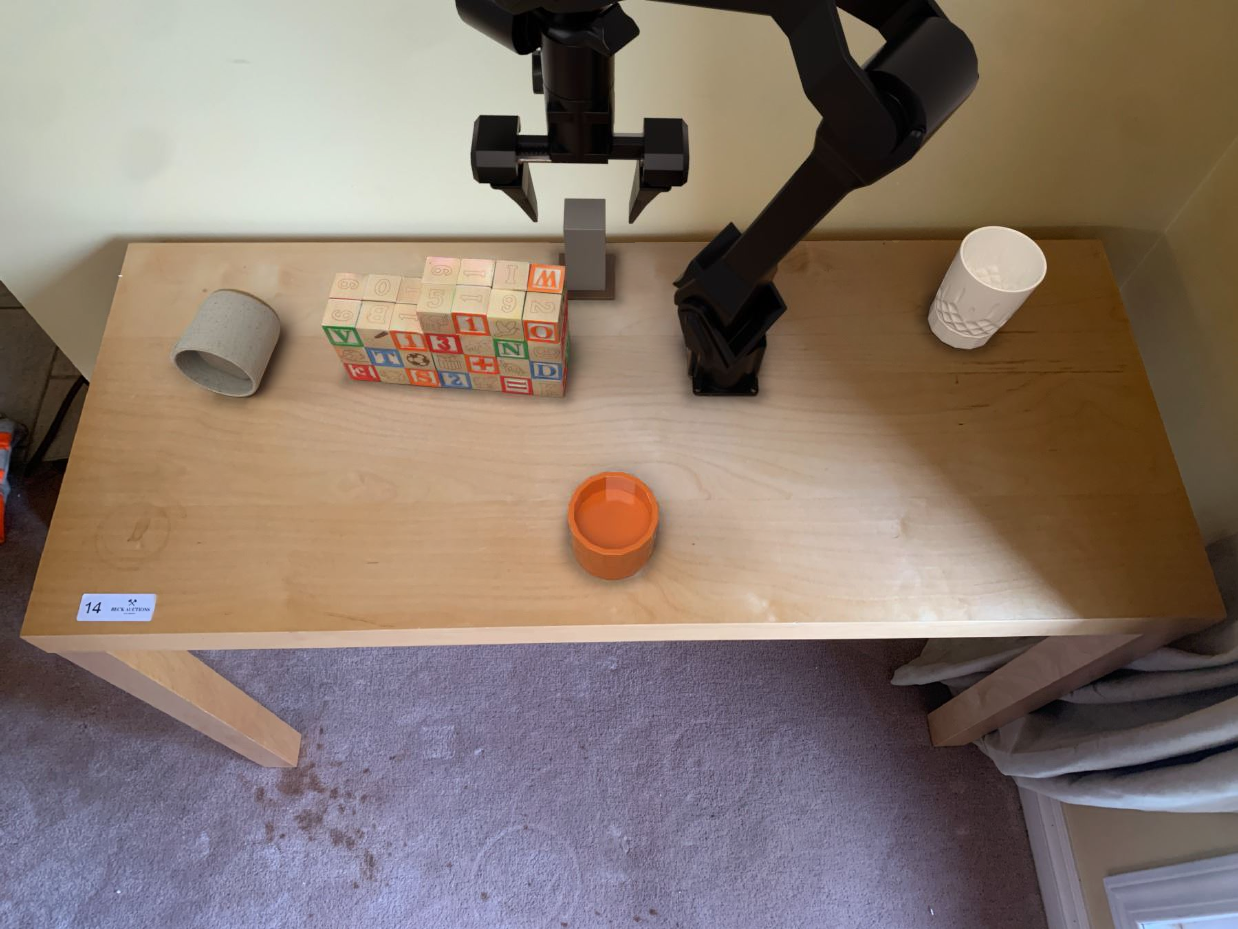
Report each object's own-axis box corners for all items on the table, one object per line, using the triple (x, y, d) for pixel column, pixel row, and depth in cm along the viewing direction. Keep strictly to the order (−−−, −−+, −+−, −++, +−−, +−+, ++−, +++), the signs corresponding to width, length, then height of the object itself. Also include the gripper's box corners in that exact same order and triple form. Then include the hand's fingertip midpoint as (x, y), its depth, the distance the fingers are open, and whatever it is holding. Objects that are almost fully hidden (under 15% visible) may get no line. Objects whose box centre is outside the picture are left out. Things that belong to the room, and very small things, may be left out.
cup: (653, 502, 72) (657, 472, 66) (654, 580, 68) (659, 555, 63) (572, 502, 72) (569, 471, 66) (570, 579, 68) (566, 554, 62)
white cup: (1008, 314, 82) (1058, 248, 73) (982, 367, 79) (1030, 305, 70) (938, 281, 84) (978, 213, 75) (909, 332, 81) (947, 267, 72)
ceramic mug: (296, 333, 79) (265, 284, 73) (269, 401, 76) (234, 356, 69) (196, 322, 80) (156, 272, 73) (165, 389, 76) (120, 343, 70)
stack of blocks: (349, 382, 77) (306, 303, 66) (363, 330, 80) (325, 246, 69) (565, 398, 76) (558, 321, 65) (572, 345, 79) (566, 263, 68)
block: (605, 261, 84) (605, 198, 76) (605, 290, 82) (605, 229, 74) (568, 260, 84) (564, 197, 76) (567, 290, 82) (563, 229, 74)
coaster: (614, 255, 85) (614, 253, 84) (614, 300, 82) (614, 297, 82) (559, 255, 85) (559, 252, 84) (557, 299, 82) (557, 297, 82)
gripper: (692, 13, 66) (676, 161, 80) (469, 9, 65) (493, 158, 79) (697, 105, 61) (680, 245, 75) (456, 101, 60) (484, 242, 74)
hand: (583, 219), depth 76 cm, fingers open, 9 cm apart
